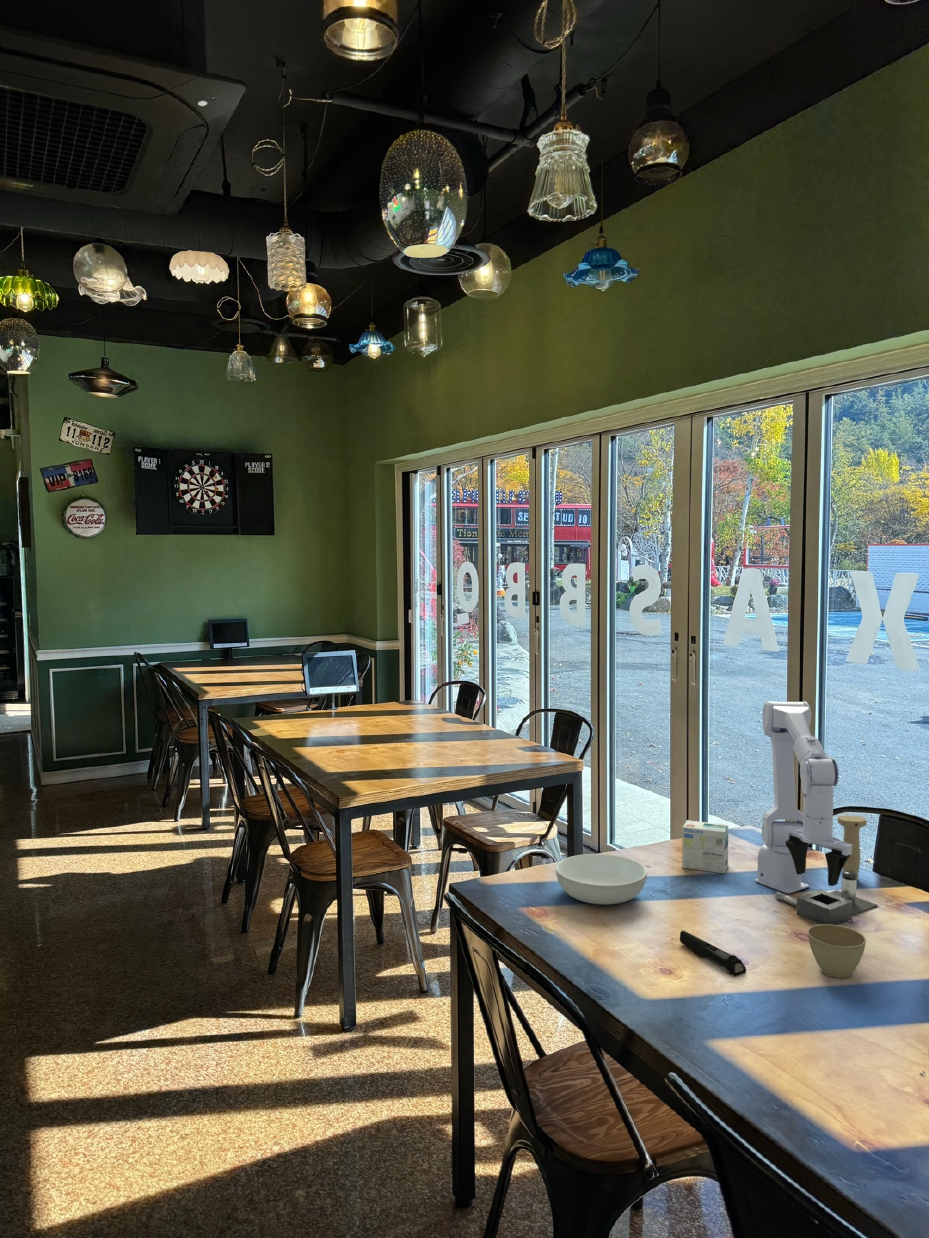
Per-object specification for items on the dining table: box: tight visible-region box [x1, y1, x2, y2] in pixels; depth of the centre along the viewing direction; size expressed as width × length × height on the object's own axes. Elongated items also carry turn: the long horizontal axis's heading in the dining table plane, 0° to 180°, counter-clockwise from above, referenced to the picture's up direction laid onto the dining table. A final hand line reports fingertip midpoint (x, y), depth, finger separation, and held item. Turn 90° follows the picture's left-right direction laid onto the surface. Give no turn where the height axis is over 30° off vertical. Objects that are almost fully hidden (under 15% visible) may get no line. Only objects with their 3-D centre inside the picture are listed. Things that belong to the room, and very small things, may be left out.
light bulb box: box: [681, 819, 729, 874], centre depth 212 cm, size 11×7×11 cm, turn 66°
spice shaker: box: [840, 870, 858, 906], centre depth 188 cm, size 3×3×7 cm
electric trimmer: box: [679, 930, 747, 977], centre depth 163 cm, size 4×16×3 cm, turn 28°
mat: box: [829, 889, 878, 917], centre depth 189 cm, size 10×9×1 cm
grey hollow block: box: [774, 889, 853, 926], centre depth 185 cm, size 16×8×4 cm, turn 32°
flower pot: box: [807, 924, 867, 979], centre depth 157 cm, size 10×10×7 cm
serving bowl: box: [555, 853, 648, 905], centre depth 193 cm, size 21×21×7 cm
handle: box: [837, 814, 868, 880], centre depth 203 cm, size 5×6×15 cm
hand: (816, 878), depth 176 cm, fingers open, 7 cm apart
